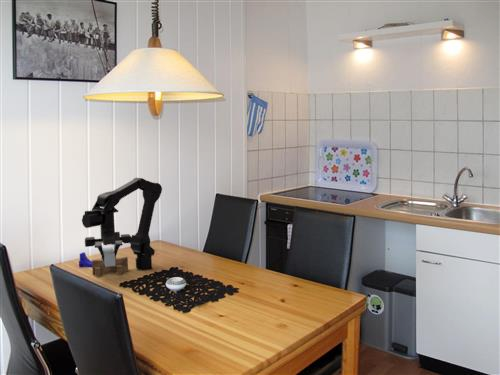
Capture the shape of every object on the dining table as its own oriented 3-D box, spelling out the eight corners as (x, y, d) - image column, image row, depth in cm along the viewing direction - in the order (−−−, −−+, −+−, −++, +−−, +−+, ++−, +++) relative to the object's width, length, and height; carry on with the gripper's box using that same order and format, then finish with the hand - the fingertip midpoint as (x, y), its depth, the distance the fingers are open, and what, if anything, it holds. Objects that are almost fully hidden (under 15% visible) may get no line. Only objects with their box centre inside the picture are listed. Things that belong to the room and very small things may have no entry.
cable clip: (79, 267, 236) (78, 254, 235) (82, 265, 240) (82, 252, 239) (104, 267, 235) (104, 254, 234) (108, 265, 240) (107, 252, 239)
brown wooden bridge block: (127, 269, 231) (127, 256, 230) (129, 273, 225) (128, 260, 224) (92, 273, 226) (92, 259, 225) (93, 277, 220) (92, 263, 219)
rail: (112, 258, 224) (112, 247, 223) (115, 265, 213) (114, 254, 212) (103, 259, 223) (102, 248, 222) (105, 266, 212) (104, 254, 211)
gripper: (84, 229, 205) (86, 267, 207) (132, 225, 211) (133, 262, 213) (83, 224, 216) (85, 260, 218) (129, 220, 222) (130, 256, 224)
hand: (109, 260), depth 218 cm, fingers closed on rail, 4 cm apart
